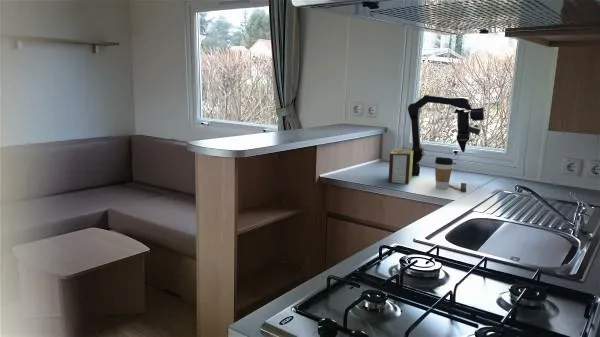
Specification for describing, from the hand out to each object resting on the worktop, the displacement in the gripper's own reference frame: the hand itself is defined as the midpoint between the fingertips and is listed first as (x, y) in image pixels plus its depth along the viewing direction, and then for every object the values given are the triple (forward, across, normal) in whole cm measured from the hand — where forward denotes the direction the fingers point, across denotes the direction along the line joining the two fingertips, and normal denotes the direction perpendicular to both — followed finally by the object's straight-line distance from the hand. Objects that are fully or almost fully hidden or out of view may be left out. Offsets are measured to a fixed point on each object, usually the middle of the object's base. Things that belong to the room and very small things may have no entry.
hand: (463, 150), depth 246 cm
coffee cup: (+14, -28, +10) cm, 32 cm away
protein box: (+12, -19, +31) cm, 38 cm away
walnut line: (+14, -24, +5) cm, 28 cm away
